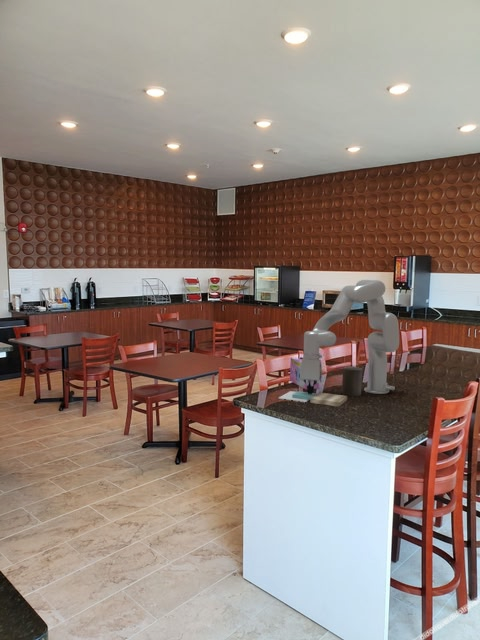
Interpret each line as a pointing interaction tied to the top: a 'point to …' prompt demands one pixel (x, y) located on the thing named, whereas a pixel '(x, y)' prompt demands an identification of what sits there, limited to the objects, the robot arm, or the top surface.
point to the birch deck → (328, 399)
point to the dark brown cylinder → (351, 381)
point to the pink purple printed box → (298, 373)
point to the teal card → (303, 395)
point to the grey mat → (289, 397)
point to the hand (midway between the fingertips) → (310, 393)
